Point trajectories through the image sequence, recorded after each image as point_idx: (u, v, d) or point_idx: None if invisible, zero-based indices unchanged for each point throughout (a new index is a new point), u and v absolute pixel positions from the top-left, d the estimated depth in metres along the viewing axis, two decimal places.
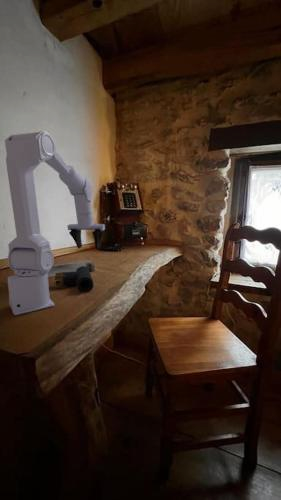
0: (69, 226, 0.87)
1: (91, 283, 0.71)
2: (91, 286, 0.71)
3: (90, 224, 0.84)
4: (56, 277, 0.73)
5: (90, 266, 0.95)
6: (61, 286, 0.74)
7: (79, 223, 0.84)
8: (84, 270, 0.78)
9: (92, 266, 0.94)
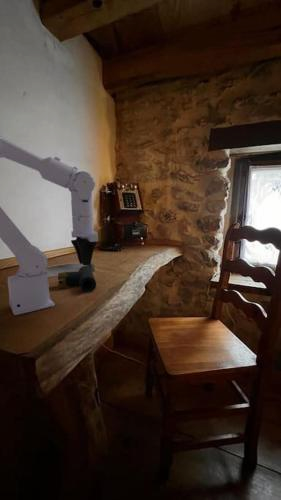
0: (72, 232, 0.70)
1: (94, 283, 0.71)
2: (94, 286, 0.71)
3: (82, 231, 0.62)
4: (59, 277, 0.73)
5: (90, 266, 0.95)
6: (64, 286, 0.74)
7: (73, 228, 0.64)
8: (86, 270, 0.79)
9: (92, 266, 0.94)
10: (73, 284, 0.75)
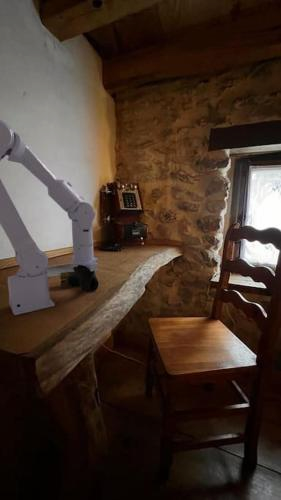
0: (72, 258, 0.72)
1: (96, 283, 0.71)
2: (96, 286, 0.72)
3: (83, 260, 0.64)
4: (61, 277, 0.73)
5: None
6: (66, 286, 0.74)
7: None
8: None
9: None
10: (75, 284, 0.75)
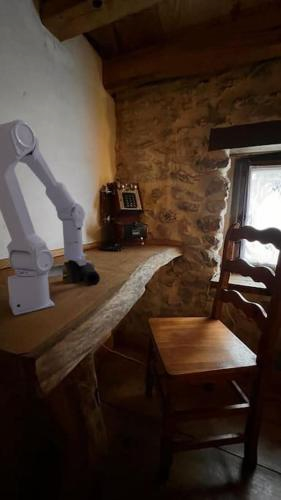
0: None
1: (97, 277, 0.78)
2: (97, 280, 0.78)
3: (73, 255, 0.71)
4: (64, 272, 0.79)
5: None
6: (69, 280, 0.80)
7: None
8: (88, 266, 0.85)
9: (92, 266, 0.94)
10: None
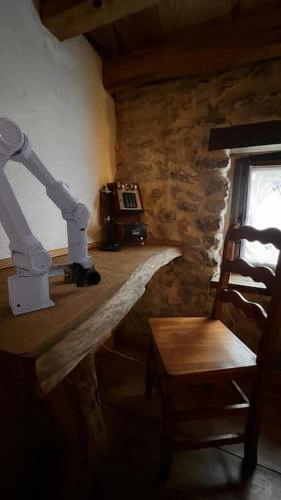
0: (68, 256, 0.75)
1: (99, 277, 0.78)
2: (99, 279, 0.78)
3: (77, 258, 0.68)
4: (65, 272, 0.79)
5: None
6: (70, 280, 0.80)
7: (68, 254, 0.70)
8: None
9: None
10: None
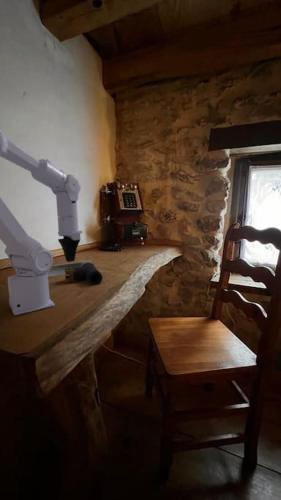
0: None
1: (100, 277, 0.78)
2: (100, 279, 0.78)
3: (67, 230, 0.67)
4: (67, 272, 0.79)
5: None
6: (71, 280, 0.80)
7: None
8: (91, 265, 0.85)
9: None
10: (80, 278, 0.81)
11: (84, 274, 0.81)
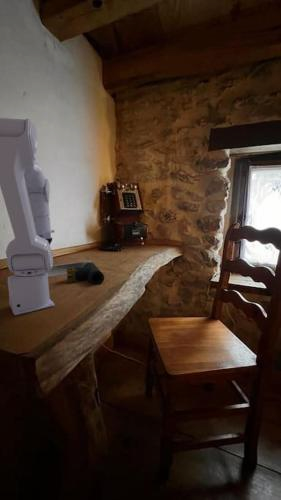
0: None
1: (102, 276, 0.78)
2: (102, 279, 0.78)
3: (38, 230, 0.70)
4: (69, 272, 0.79)
5: None
6: (73, 280, 0.80)
7: None
8: (93, 265, 0.85)
9: None
10: (81, 278, 0.81)
11: (86, 274, 0.81)
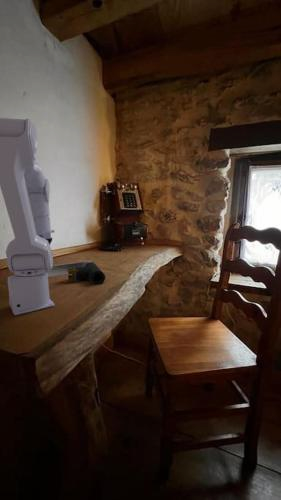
0: None
1: (103, 276, 0.78)
2: (103, 279, 0.78)
3: (38, 230, 0.70)
4: (70, 272, 0.79)
5: None
6: (74, 280, 0.80)
7: None
8: (94, 265, 0.85)
9: None
10: (82, 278, 0.81)
11: (87, 274, 0.81)
